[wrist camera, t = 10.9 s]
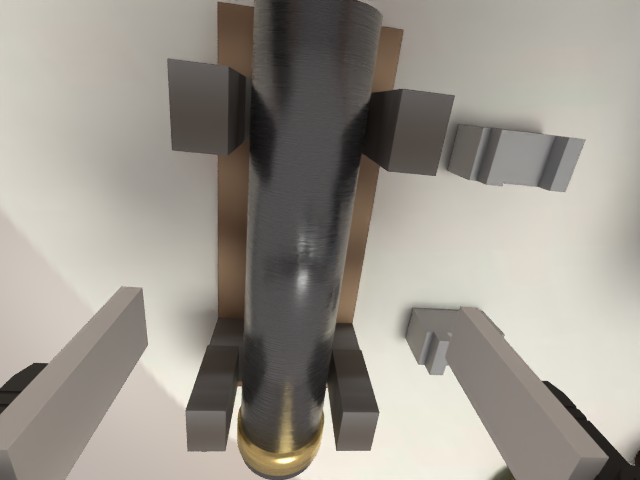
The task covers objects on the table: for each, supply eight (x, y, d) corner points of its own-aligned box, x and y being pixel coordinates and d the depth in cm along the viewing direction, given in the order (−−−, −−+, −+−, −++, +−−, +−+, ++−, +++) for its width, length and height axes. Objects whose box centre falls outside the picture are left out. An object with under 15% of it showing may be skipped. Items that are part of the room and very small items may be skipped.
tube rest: (459, 124, 22) (493, 128, 18) (543, 134, 22) (593, 140, 19) (405, 338, 28) (423, 374, 24) (472, 341, 29) (500, 376, 25)
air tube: (257, 18, 15) (237, -23, 10) (372, 34, 16) (405, 2, 11) (244, 404, 24) (229, 482, 19) (318, 407, 25) (322, 484, 20)
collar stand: (213, 5, 18) (149, -76, 10) (399, 33, 19) (481, -19, 11) (215, 376, 28) (184, 493, 19) (340, 379, 29) (361, 489, 21)
